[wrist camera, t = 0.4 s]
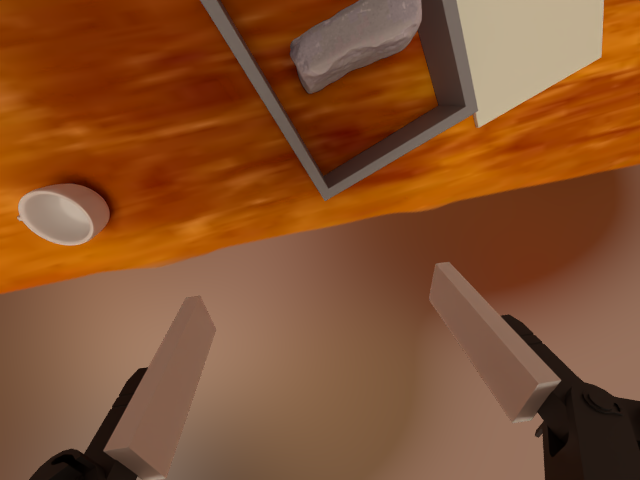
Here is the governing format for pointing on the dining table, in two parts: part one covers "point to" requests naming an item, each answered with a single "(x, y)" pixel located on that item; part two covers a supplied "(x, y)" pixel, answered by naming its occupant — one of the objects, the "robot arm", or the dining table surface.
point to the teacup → (64, 213)
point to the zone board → (526, 47)
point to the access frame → (454, 106)
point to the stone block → (354, 40)
